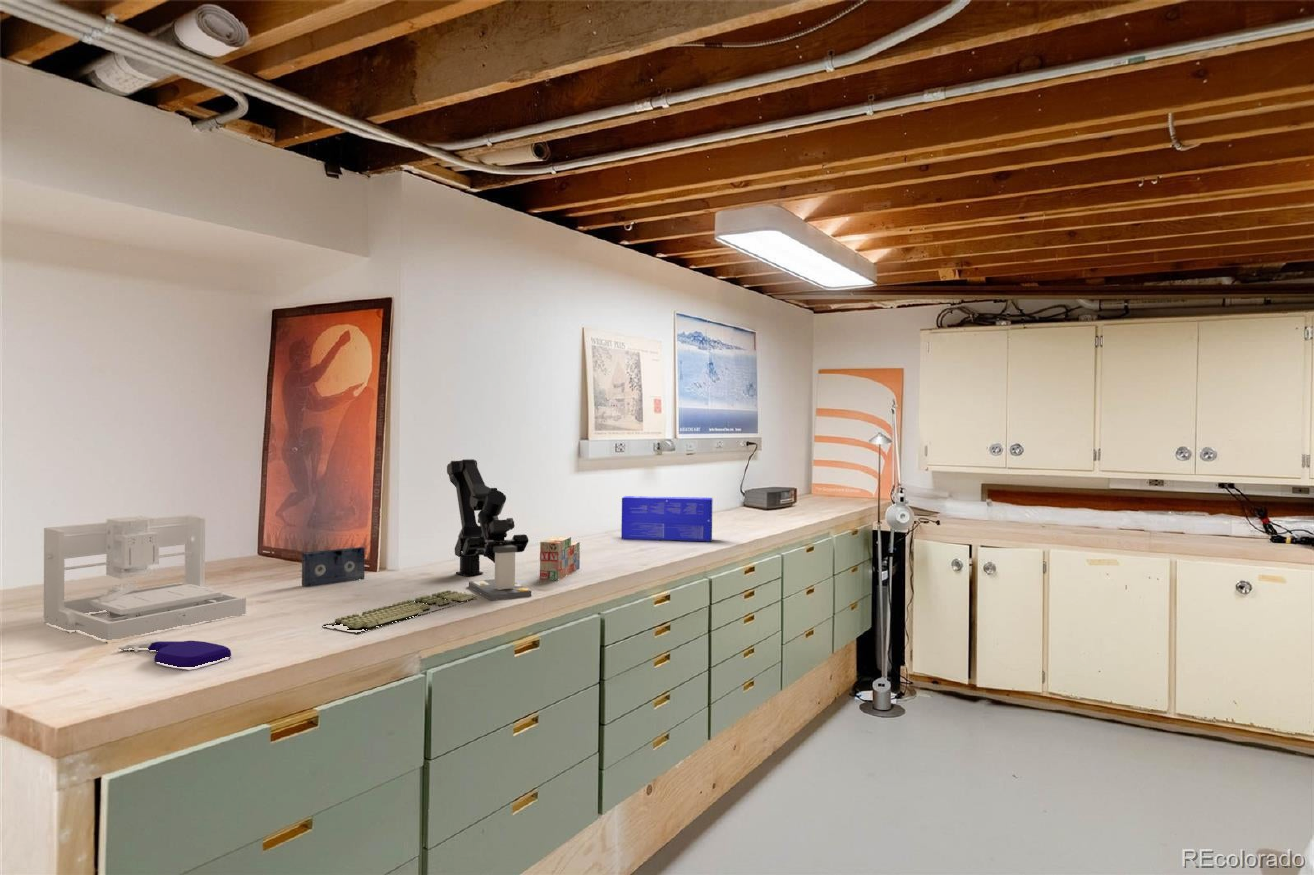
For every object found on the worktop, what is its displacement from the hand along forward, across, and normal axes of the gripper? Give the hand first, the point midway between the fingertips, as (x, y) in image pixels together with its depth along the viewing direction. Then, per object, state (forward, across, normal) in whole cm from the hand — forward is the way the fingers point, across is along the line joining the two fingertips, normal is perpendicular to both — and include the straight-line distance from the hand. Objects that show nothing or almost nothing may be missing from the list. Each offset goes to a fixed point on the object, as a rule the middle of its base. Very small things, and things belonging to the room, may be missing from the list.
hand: (502, 568), depth 226 cm
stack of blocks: (-8, +27, +19) cm, 34 cm away
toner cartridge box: (-42, +99, +53) cm, 120 cm away
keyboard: (+12, -30, 0) cm, 32 cm away
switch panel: (+3, 0, +7) cm, 8 cm away
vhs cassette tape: (-20, -40, +31) cm, 55 cm away
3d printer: (-2, -87, +13) cm, 88 cm away
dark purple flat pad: (+24, -81, -12) cm, 85 cm away
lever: (+5, 0, +3) cm, 6 cm away
